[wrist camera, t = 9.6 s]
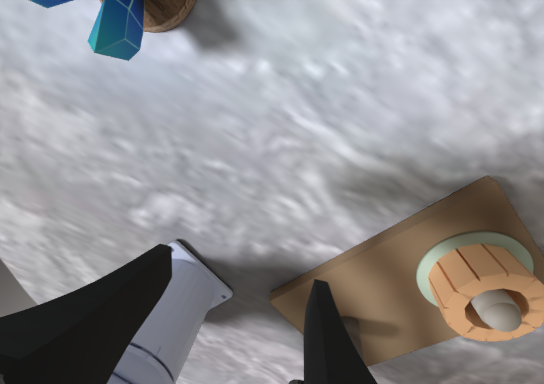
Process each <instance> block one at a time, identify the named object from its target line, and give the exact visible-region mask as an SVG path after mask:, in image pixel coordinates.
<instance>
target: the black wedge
mask: <svg viewBox="0 0 544 384" xmlns="http://www.w3.org/2000/svg"><path fill="white" fill-rule="evenodd" d="M289 384H304V381H301V380H292V381H290V382H289Z"/></svg>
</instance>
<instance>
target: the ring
mask: <svg viewBox="0 0 544 384" xmlns="http://www.w3.org/2000/svg"><path fill="white" fill-rule="evenodd" d="M438 261H439V262H437V261H436V262H435V264H434V265H433V267H432V269H431V271H430V273H429V274H428V276H429V277H428V281H429V286H430V290H431V292H432V295H433V297H434V299H435V301H436V303H437V305H438V307H439V309H440V311H441V313H442V315H443V317H444V319H445V321H446V323H447V324H448V326H450V327H451V328H452V329H453V330H455V331H456V332H457V333H458V334H460V335H461V336H462V335H463V336H464V337H467V338H471V339H475V340H479V341H485V340H487V342H491V341H502V340H511V336H512V337H513V338H514V339H515V338H518V337H520V336H522V335H524V334H527V333H529V332H531V331H534V330H536V329H535V328H534V327H537V328H539V327H540V326H541V324H542V323H543V322H544V285H543V284H542V283H541V282H540V281H539V280H538V279H537V278H536V277H535V276H534V275H533V274H532V273H531V272H530V271H529V270H528V269H527V268H526V267H525V266H524V265H523V264H522V263H521V262H520V261H519V260H518V259H517V258H516V257H515V256H513V255H512V254H511V253H510V252H509V251H508V250H507V249H505V248H503V247H498V246H493V245H488V244H484V243H483V244H482V245H481V244H480V243H479V244H474V245H468V246H463V247H458V251H457V250H456V249H453V250H452V251H450V252H449V253H447V254H445V255H444V256H442V257H441V258H439V259H438ZM502 288H503V289H504V290H505V291H506V292H507V293H508V295H509V296H510V297H511V298H512V299H513V301H514V302H515V303H516V304H517V305H518V307H519V308H520V310H521V316H522V322H521V325H520V326H519V328H518V329H516V330H514V331H511V332H502V331H498V330H496V329H494V328H492V327H490V326H489V325H488V324H486V323H484V322H483V321H482V319H481V318H480V316H479V315H478V313H477V312H476V310H475V308H474V307H473V305H472V304H471V302H470V300H471V298H473V297H475V296H477V295H479V294H481V293H483V292H484V291H488V290H495V289H502Z"/></svg>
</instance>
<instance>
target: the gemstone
mask: <svg viewBox="0 0 544 384" xmlns="http://www.w3.org/2000/svg"><path fill="white" fill-rule="evenodd" d="M30 1H32V2H34V3H36V4H39V5H41V6H43V7H45V8H50V7H53V6H56V5H60V4H63V3H66V2H70V1H73V0H30ZM195 1H196V0H100V2H101V3H102V6H101V8H100V11H99V13H98V16H97V19H96V21H95V24H94V26H93V29H92V31H91V34H90V36H89V39H88V43H89V44H90V46H91V48H92V50H93V52H94V53H98V54H102V55H106V56H111V57H115V58H119V59H124V60H128V61H129V60H130V59H131V58H132V57H133V56H134V55H135V54H136V53H137V52H138V51H139V50H140V47H141V41H142V36H143V31H144V32H151V33H157V32H163V31H167V30H169V29H172V28H174V27H175V26H177V25H178V24H179V23H181V22H182V21H183V20H184V19H185V18H186V16H187V15H188V14H189V12H190V11H191V9H192V7H193V5H194V3H195Z"/></svg>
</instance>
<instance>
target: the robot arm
mask: <svg viewBox="0 0 544 384" xmlns="http://www.w3.org/2000/svg"><path fill="white" fill-rule="evenodd" d="M172 248H173V249H172ZM224 295H225V296H224ZM232 295H233V292H232V290H231V289H229V288H228V287H227V286H226V285H225V284H224V283H223V282H222V281H221V280H220V279H219V278H218V277H216V276H215V275H214V274H213V273H212V272H211V271H210V270H209V269H208V268H207V267H206V266H205V265H203V264H202V263H201V262H200V261H199V260H198V259H197V258H196V257H195V256H194V255H193V254H192V253H190V252H189V251H188V250H187V249H186V248H185V247H184V246H183V245H182V244H181V243H180V242H178V241H172V242H171V243H170V244H168V245H163V244H159V245H157V246H155V247H154V248H152V249H151V250H149V251H147V252H146V253H144V254H142V255H141V256H139V257H137V258H136V259H134V260H133V261H131V262H129V263H127V264H126V265H124V266H122V267H121V268H119V269H117V270H115V271H113V272H112V273H110V274H108V275H106V276H104V277H102V278H100V279H99V280H97V281H95V282H93V283H90V284H88V285H86V286H84V287H82V288H80V289H78V290H75V291H73V292H71V293H68V294H66V295H63V296H61V297H58V298H56V299H53V300H51V301H48V302H46V303H43V304H40V305H37V306H35V307H32V308H29V309H26V310H23V311H20V312H17V313H13V314H10V315H7V316H4V317H0V384H175V383H176V381H177V379H178V377H179V374H180V372H181V370H182V368H183V365H184V363H185V361H186V359H187V356H188V354H189V352H190V350H191V347H192V345H193V343H194V341H195V338H196V336H197V334H198V332H199V329H200V327H201V325H202V323H203V321H204V318H205V316H206V314H207V312H208V311H209V310H210V309H212V308H214V307H216V306H217V305H219V304H221V303H222V302H224V301H226V300H228V299H229V298H231V297H232ZM304 384H377V382H376V381H375V379H374V378H373V376H372V375H371V373H370V371H369V370H368V368H367V367H366V365H365V363H364V362H363V360H362V358H361V356H360V355H359V353H358V351H357V349H356V347H355V345H354V344H353V342H352V340H351V338H350V336H349V334H348V332H347V329H346V327H345V325H344V323H343V321H342V318H341V316H340V314H339V311H338V309H337V306H336V304H335V301H334V298H333V296H332V293H331V290H330V286H329V284H328V282H326V281H322V280H317V279H314V282H313V286H312V289H311V292H310V296H309V299H308V302H307V306H306V311H305V321H304Z"/></svg>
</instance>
